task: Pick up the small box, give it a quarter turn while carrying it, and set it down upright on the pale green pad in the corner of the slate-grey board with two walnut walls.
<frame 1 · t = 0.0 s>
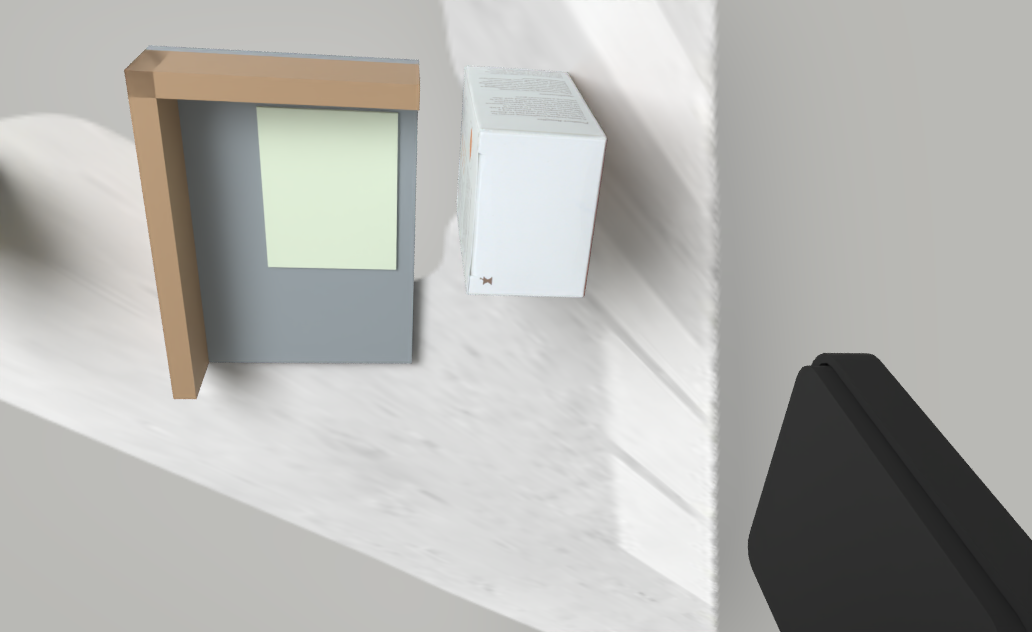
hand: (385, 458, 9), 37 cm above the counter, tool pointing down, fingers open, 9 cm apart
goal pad: (331, 186, 46), resting on arena
small box: (509, 138, 46), on the counter
arena: (295, 218, 47), on the counter
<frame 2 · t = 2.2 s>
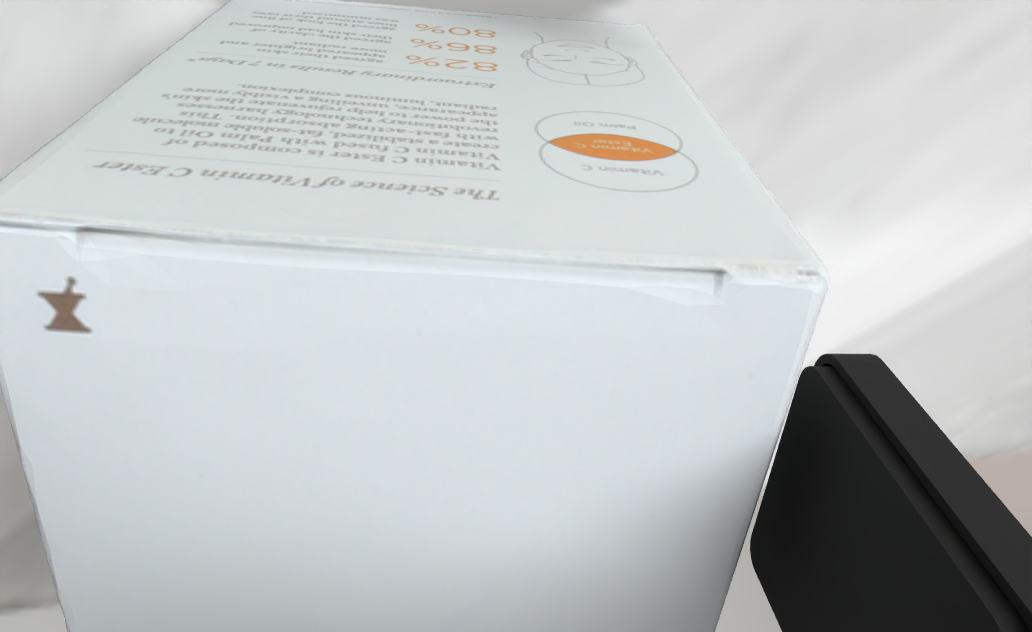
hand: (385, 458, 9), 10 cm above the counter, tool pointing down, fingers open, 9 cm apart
small box: (444, 137, 18), on the counter
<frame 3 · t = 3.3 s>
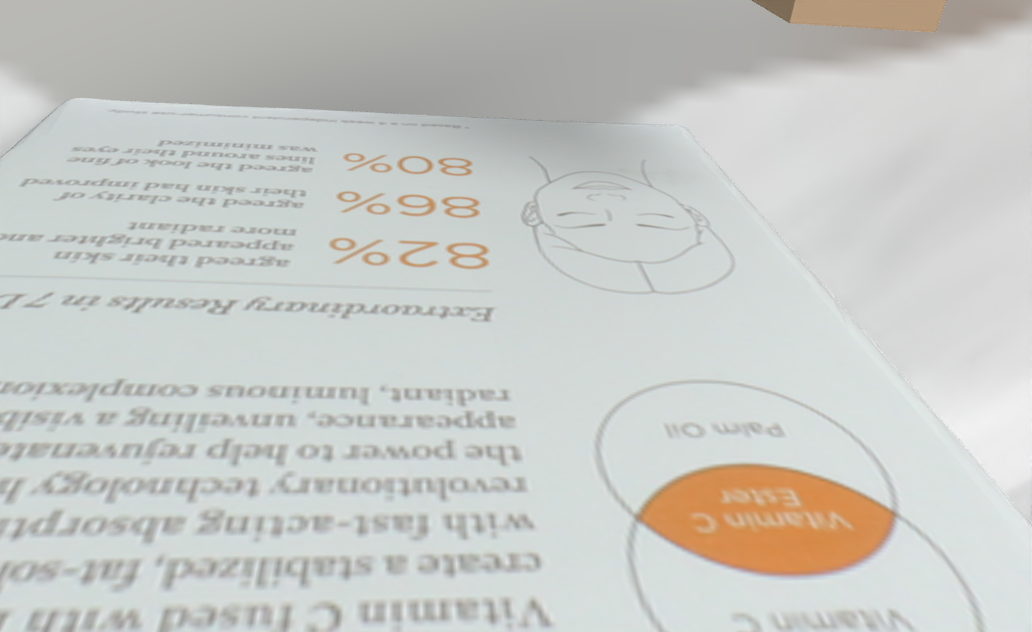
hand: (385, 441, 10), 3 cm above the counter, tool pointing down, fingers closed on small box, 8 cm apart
small box: (393, 283, 13), on the counter, touching gripper
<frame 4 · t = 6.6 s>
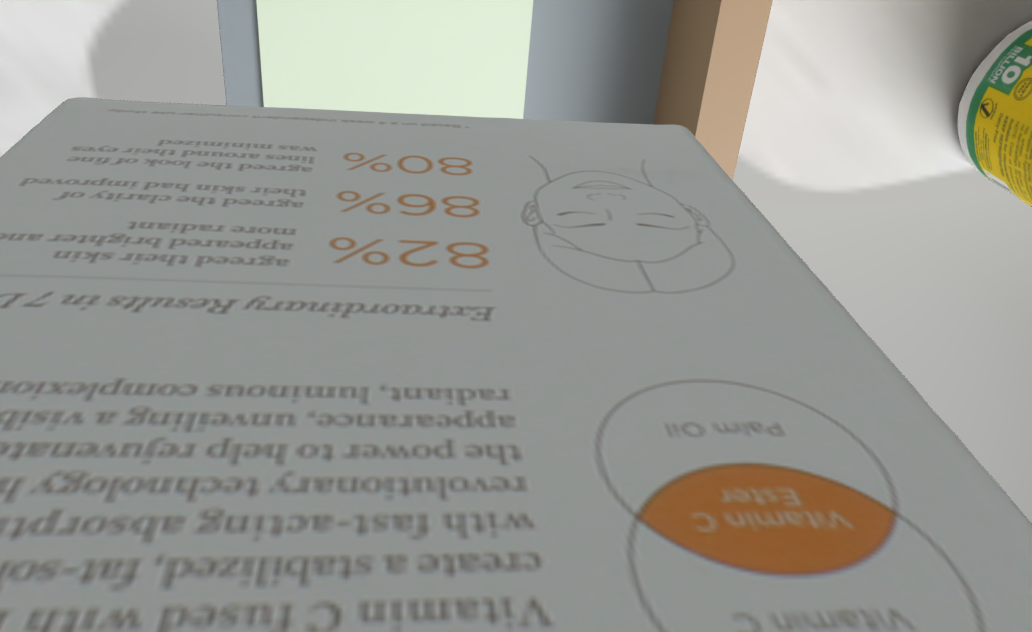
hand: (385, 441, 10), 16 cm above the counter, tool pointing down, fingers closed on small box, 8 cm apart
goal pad: (396, 62, 24), resting on arena
small box: (393, 283, 13), point 13 cm above the counter, touching gripper
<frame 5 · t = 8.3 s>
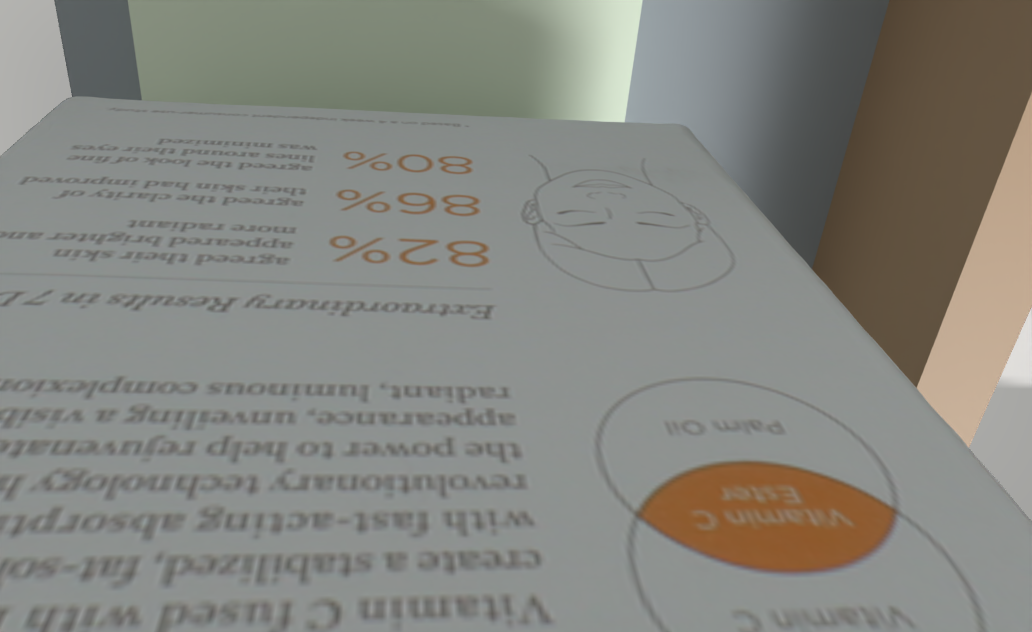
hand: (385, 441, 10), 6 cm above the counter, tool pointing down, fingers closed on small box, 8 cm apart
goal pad: (392, 225, 15), resting on arena
small box: (393, 282, 13), point 2 cm above the counter, touching gripper
arena: (518, 115, 14), on the counter
when the fingers open (5 cm above the counter, at t = 9.5 s): small box stays where it is, resting on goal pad.
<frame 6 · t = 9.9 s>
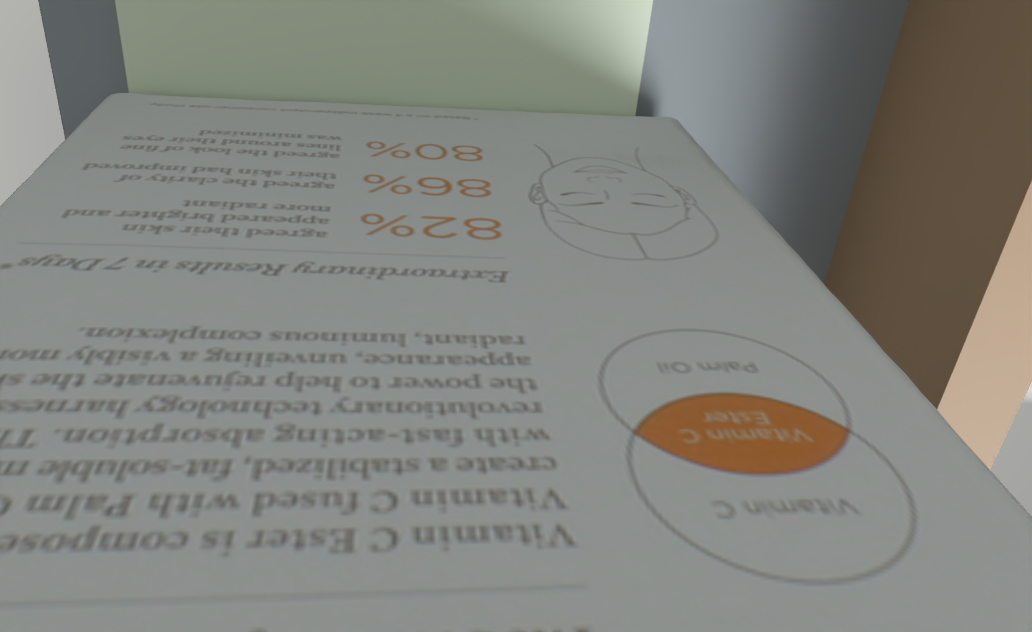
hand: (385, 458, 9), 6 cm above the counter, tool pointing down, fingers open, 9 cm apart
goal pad: (391, 239, 14), resting on arena
small box: (406, 265, 14), point 1 cm above the counter, touching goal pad
arena: (521, 126, 13), on the counter
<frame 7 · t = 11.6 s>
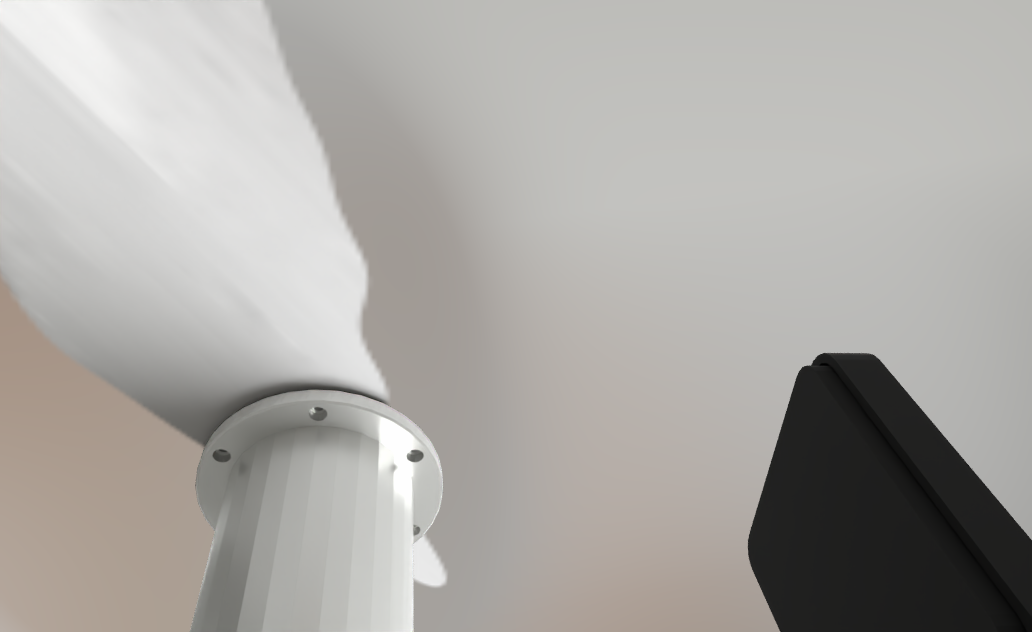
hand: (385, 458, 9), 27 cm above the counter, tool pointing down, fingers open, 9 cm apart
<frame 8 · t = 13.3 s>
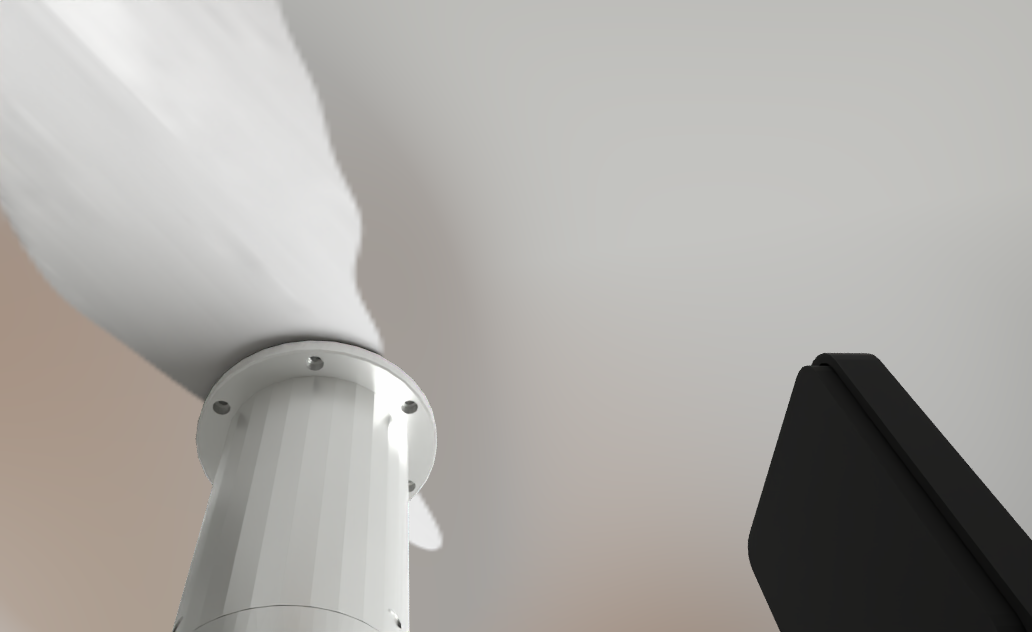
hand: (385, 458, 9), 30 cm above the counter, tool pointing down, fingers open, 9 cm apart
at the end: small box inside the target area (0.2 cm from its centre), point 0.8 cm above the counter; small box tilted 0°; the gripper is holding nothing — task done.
